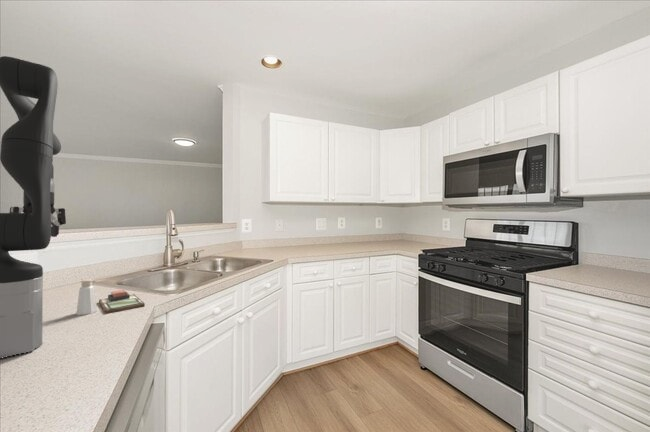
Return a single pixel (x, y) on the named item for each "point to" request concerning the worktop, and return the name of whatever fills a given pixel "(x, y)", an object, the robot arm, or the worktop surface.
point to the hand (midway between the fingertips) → (38, 237)
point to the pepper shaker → (86, 298)
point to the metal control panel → (120, 303)
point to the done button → (118, 293)
